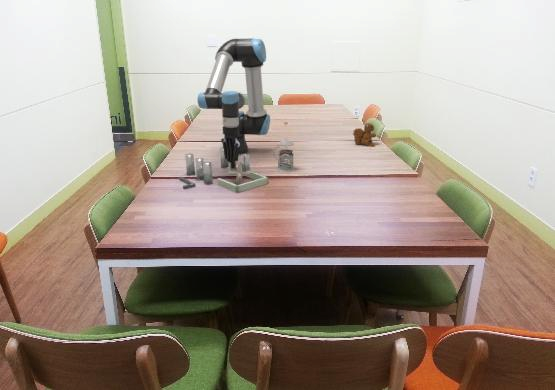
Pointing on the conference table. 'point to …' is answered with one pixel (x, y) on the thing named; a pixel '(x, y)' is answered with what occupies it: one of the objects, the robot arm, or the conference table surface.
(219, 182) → the corral
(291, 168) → the french press
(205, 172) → the set of silver pegs
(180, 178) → the hook bar
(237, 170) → the beige rod cross
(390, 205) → the conference table surface
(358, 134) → the stuffed squirrel
